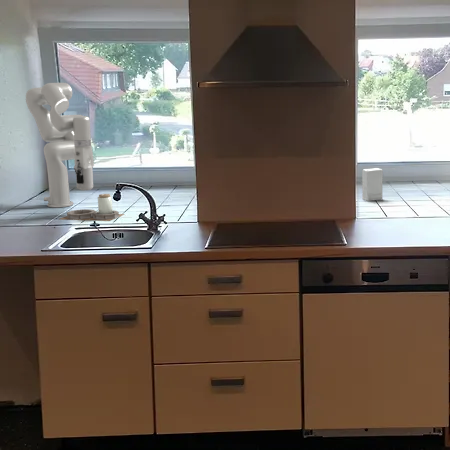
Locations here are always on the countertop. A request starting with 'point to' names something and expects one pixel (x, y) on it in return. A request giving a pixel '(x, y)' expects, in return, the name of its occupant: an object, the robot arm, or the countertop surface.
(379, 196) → the skincare box
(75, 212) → the stand
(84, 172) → the can
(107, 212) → the jar
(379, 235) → the countertop surface
